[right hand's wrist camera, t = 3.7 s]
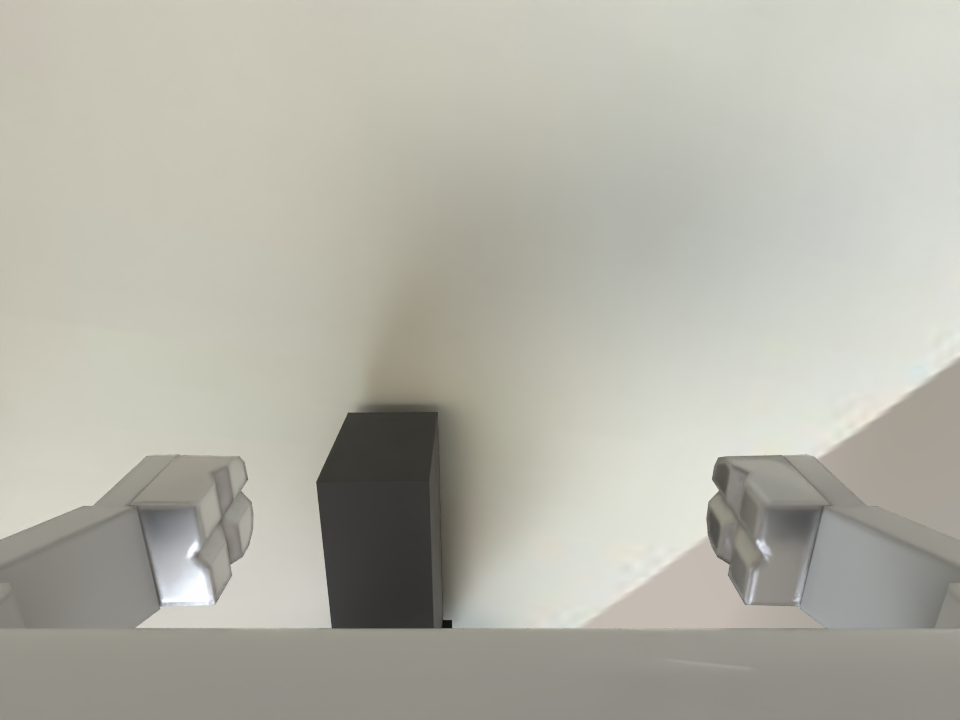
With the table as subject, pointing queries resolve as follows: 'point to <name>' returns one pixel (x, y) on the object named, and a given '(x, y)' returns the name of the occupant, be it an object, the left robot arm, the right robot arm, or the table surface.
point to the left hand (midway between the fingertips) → (403, 634)
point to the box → (383, 522)
